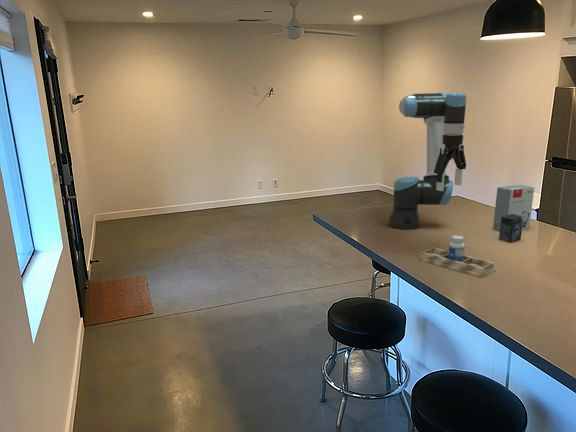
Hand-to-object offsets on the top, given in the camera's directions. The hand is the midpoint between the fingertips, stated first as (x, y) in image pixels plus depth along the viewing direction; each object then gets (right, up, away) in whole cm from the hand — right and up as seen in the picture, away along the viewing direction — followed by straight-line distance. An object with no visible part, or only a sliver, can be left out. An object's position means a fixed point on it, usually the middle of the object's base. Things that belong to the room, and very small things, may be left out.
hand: (449, 187), depth 188 cm
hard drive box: (+40, -18, +31) cm, 53 cm away
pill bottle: (-2, -29, -14) cm, 32 cm away
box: (+32, -22, +15) cm, 41 cm away
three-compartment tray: (-2, -30, -13) cm, 33 cm away
